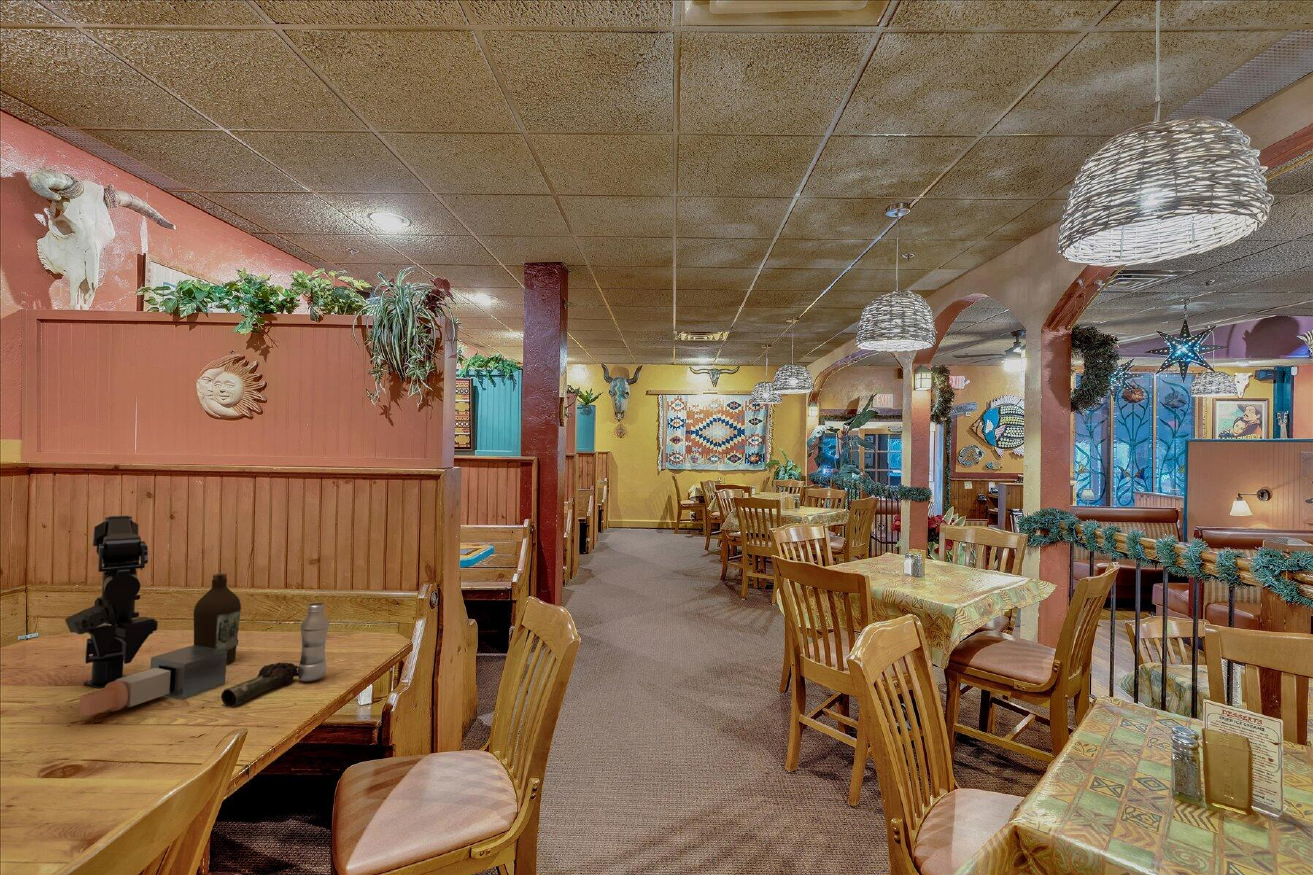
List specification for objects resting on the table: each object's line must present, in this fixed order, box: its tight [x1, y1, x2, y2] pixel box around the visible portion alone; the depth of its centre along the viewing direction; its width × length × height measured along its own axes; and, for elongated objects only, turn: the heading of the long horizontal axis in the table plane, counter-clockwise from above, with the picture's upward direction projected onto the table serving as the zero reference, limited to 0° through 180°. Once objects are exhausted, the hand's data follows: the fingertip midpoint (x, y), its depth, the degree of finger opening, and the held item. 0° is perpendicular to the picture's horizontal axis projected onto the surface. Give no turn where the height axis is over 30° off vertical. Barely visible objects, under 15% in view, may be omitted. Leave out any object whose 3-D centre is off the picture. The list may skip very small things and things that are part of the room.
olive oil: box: [193, 572, 242, 666], centre depth 160 cm, size 11×11×25 cm
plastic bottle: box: [297, 602, 330, 682], centre depth 150 cm, size 6×7×20 cm
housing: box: [149, 644, 227, 700], centre depth 143 cm, size 12×10×8 cm
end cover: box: [78, 668, 171, 717], centre depth 130 cm, size 6×15×6 cm, turn 162°
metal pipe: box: [220, 662, 299, 708], centre depth 142 cm, size 18×7×6 cm, turn 164°
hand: (114, 659), depth 129 cm, fingers open, 9 cm apart
